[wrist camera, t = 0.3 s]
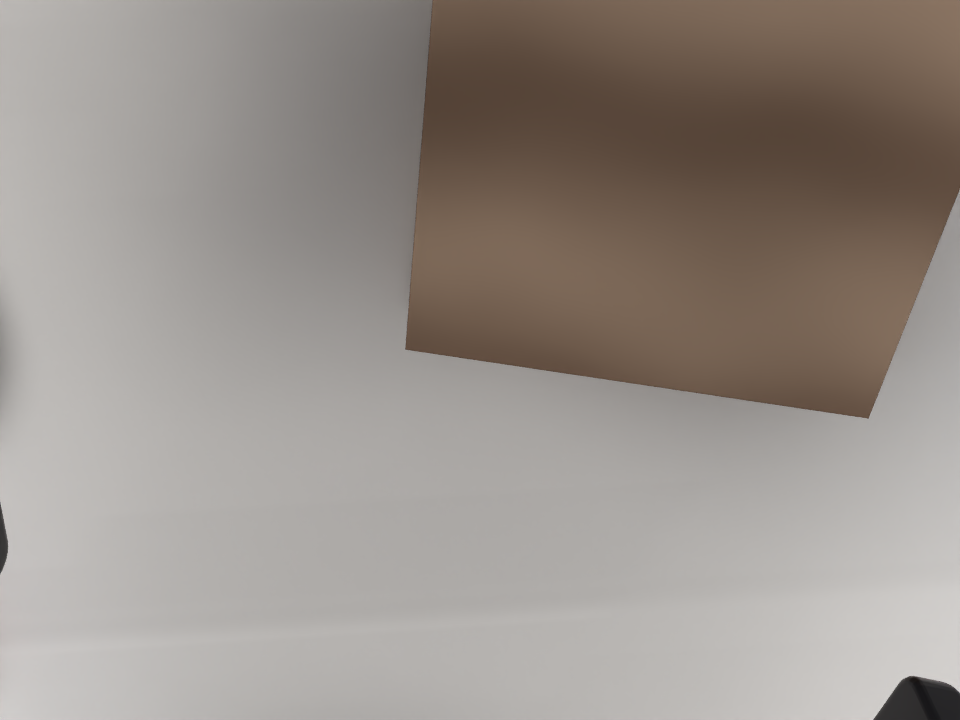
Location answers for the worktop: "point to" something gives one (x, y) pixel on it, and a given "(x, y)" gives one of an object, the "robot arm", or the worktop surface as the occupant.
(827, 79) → the walnut block
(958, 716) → the robot arm
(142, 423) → the worktop surface
